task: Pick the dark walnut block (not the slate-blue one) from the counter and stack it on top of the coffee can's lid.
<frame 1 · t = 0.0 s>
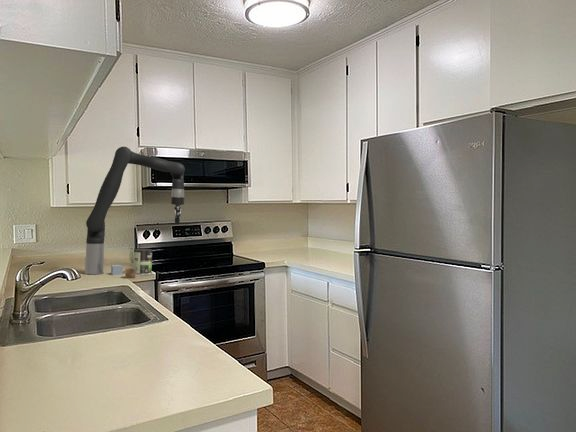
hand: (177, 223, 258), 29 cm above the counter, fingers open, 8 cm apart
walnut block: (130, 277, 235), on the counter
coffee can: (142, 274, 249), on the counter
slate-blue block: (116, 274, 245), on the counter
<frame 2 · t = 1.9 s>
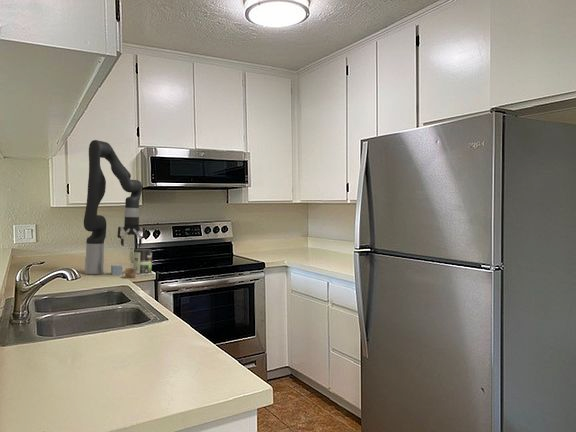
hand: (131, 245, 235), 17 cm above the counter, fingers open, 8 cm apart
nothing on the counter moved.
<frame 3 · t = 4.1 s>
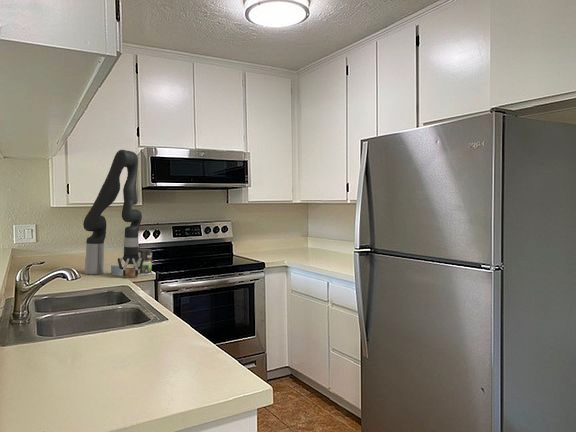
hand: (130, 276, 235), 0 cm above the counter, fingers closed on walnut block, 5 cm apart
walnut block: (130, 277, 235), on the counter, touching gripper
everything else where it was.
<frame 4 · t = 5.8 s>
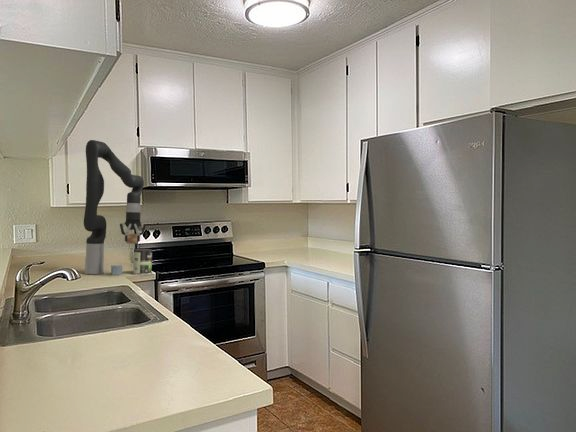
hand: (132, 242, 236), 19 cm above the counter, fingers closed on walnut block, 5 cm apart
walnut block: (132, 243, 236), point 19 cm above the counter, touching gripper
everything else where it was.
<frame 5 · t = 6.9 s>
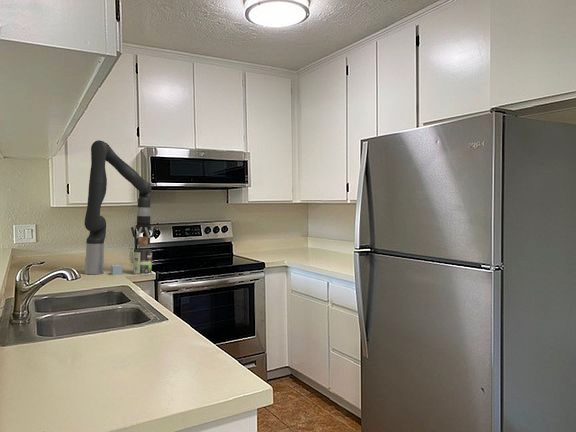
hand: (143, 244, 249), 17 cm above the counter, fingers closed on walnut block, 5 cm apart
walnut block: (143, 245, 249), point 16 cm above the counter, touching gripper
everything else where it was.
when the fingers open (16 cm above the counter, at t = 7.5 s): walnut block drops 1 cm, resting on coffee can.
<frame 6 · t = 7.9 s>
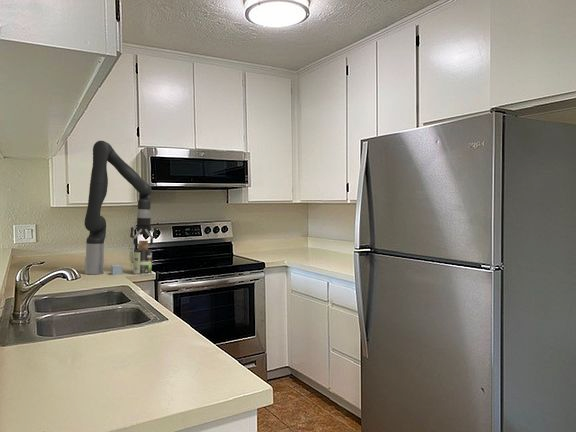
hand: (143, 245, 249), 17 cm above the counter, fingers open, 8 cm apart
walnut block: (143, 249, 249), point 14 cm above the counter, touching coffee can
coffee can: (142, 274, 249), on the counter, touching walnut block
everything else where it was.
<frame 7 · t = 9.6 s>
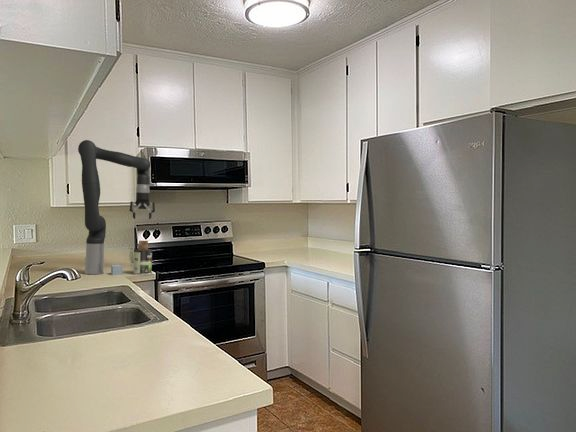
hand: (142, 219, 258), 31 cm above the counter, fingers open, 8 cm apart
nothing on the counter moved.
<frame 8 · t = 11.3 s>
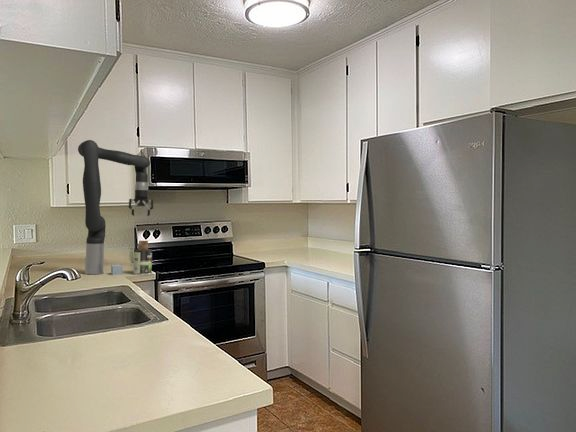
hand: (140, 216, 263), 33 cm above the counter, fingers open, 8 cm apart
nothing on the counter moved.
at the end: walnut block inside the target area on the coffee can (0.1 cm from its centre), point 14.3 cm above the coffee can's base; walnut block tilted 0°; the gripper is holding nothing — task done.
